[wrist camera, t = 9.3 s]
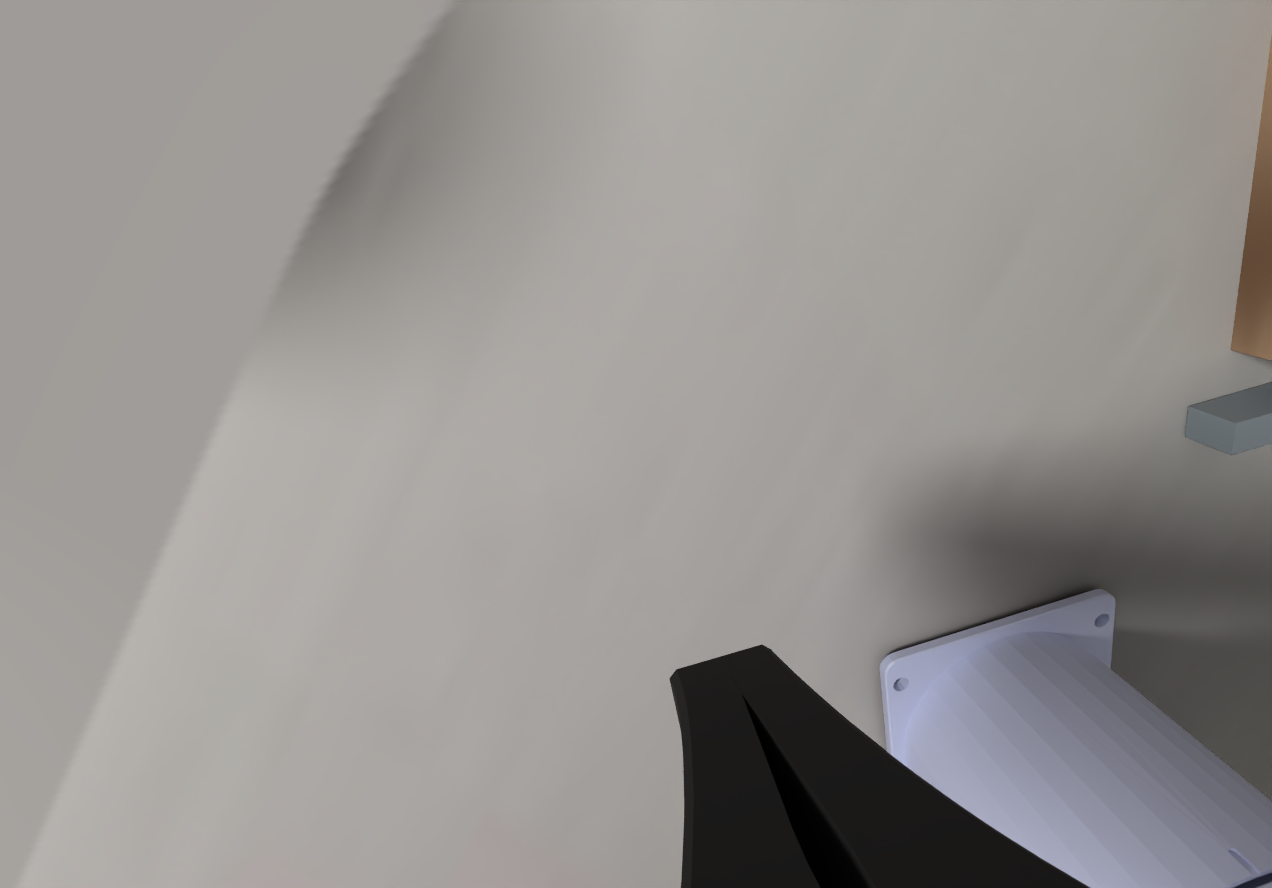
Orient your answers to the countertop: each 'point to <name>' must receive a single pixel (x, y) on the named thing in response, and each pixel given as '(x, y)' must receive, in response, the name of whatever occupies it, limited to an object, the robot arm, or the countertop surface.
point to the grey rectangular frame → (1233, 420)
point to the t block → (1258, 248)
